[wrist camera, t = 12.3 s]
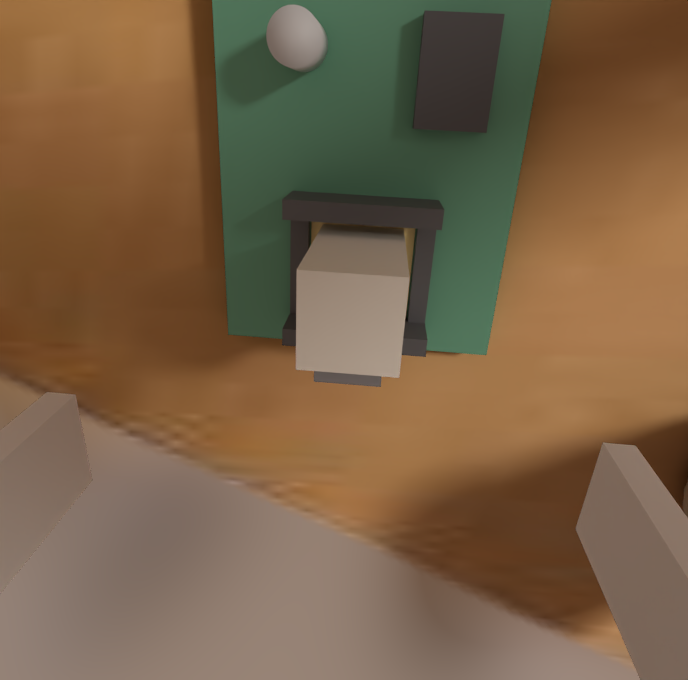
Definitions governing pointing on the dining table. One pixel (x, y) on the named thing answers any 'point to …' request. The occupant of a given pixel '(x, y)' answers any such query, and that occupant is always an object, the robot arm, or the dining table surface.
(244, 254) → the board
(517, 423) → the dining table surface
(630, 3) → the dining table surface
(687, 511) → the canister
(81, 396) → the dining table surface
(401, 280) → the plug
